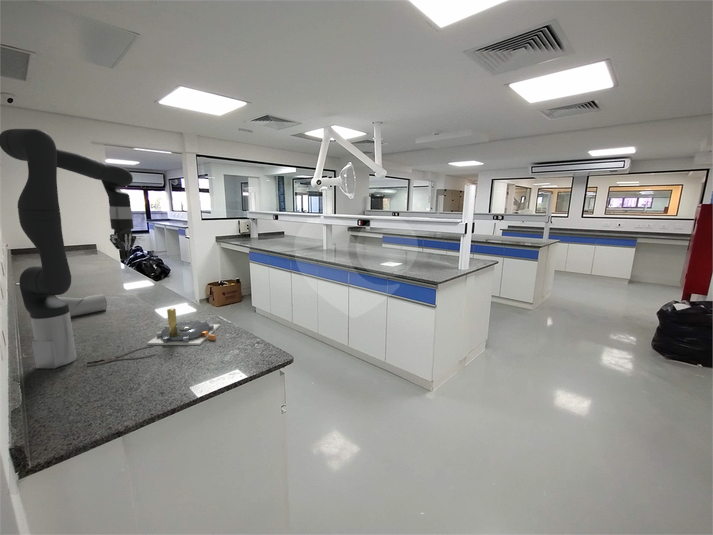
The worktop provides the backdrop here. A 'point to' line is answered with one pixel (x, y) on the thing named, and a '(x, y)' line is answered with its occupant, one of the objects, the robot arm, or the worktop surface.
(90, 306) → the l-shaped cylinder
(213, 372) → the worktop surface
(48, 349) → the robot arm
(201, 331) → the sprocket
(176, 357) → the worktop surface
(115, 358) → the pliers
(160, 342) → the base plate
